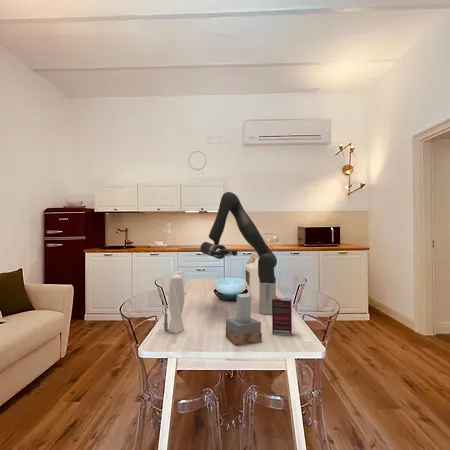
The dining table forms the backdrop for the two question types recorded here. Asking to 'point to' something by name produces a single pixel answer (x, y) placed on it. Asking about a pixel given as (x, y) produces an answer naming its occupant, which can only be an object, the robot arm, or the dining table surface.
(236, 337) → the walnut slab
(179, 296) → the skyscraper
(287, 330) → the supplement box
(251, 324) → the charcoal block
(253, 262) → the gable box
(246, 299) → the slate block
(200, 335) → the dining table surface
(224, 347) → the dining table surface
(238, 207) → the robot arm
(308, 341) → the dining table surface
